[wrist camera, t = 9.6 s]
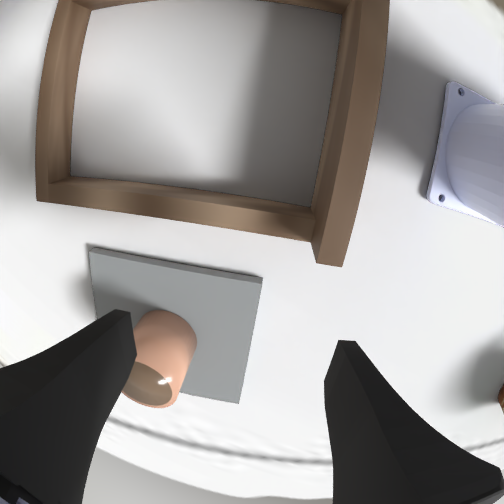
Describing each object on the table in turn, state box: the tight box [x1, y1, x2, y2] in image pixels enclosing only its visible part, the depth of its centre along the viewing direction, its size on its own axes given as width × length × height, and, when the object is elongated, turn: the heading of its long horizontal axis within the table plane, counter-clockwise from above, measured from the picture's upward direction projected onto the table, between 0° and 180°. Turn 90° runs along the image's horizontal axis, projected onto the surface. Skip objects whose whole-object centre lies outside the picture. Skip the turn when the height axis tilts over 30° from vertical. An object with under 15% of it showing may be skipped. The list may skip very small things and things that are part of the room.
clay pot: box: [121, 310, 197, 408], centre depth 19 cm, size 5×5×5 cm
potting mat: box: [89, 248, 263, 404], centre depth 21 cm, size 12×12×1 cm
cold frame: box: [35, 0, 390, 267], centre depth 13 cm, size 18×14×5 cm
